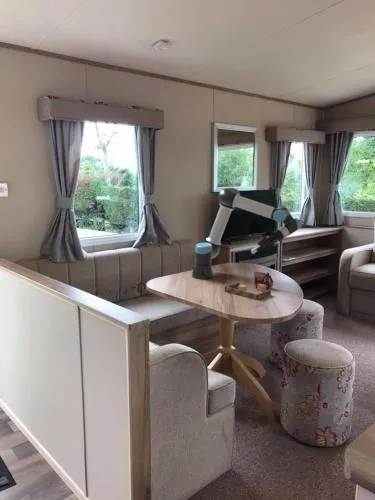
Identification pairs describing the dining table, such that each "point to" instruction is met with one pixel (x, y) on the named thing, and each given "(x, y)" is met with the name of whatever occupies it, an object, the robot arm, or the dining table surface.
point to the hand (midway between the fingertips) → (252, 252)
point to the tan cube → (261, 287)
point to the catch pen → (246, 294)
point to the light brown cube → (242, 288)
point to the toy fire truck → (260, 279)
